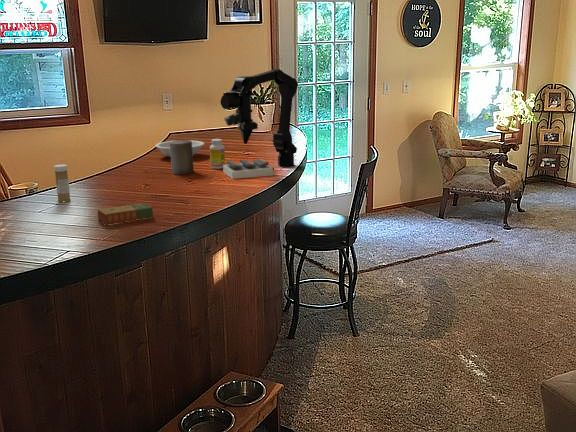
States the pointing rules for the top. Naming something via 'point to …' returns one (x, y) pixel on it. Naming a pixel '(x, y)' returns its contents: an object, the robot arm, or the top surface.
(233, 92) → the robot arm
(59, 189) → the sprinkles bottle
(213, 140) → the supplement bottle
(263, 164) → the rocker
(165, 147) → the soup bowl
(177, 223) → the top surface
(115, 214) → the carton
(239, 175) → the light switch panel
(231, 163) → the rocker
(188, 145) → the pillar candle
